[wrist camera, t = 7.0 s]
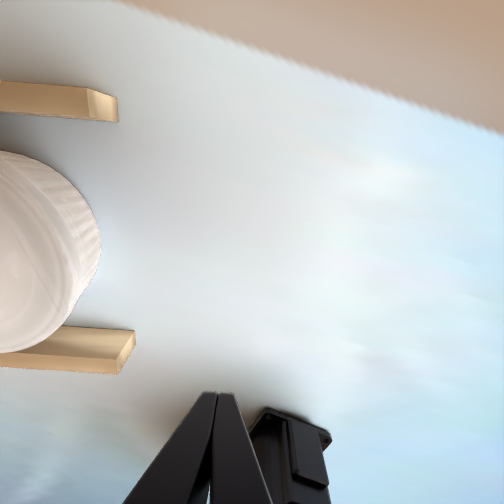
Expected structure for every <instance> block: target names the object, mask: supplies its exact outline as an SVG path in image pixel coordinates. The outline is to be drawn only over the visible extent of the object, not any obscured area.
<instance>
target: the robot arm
mask: <svg viewBox="0 0 504 504" xmlns="http://www.w3.org/2000/svg"><path fill="white" fill-rule="evenodd" d="M331 442H332V438H331V434H330V433H328V432H326V431H323V430H321V429H319V428H316V427H314V426H311V425H309V424H306V423H304V422H301V421H299V420H296V419H294V418H292V417H289V416H287V415H284V414H282V413H279V412H277V411H274V410H272V409H265V410H263V411H262V413H261V414H260V415H259V417H258V418H257V420H256V421H255V422H254V424H253V425H252V426H251V428H250V429H249V431H248V432H247V429H246V426H245V423H244V420H243V417H242V415H241V412H240V409H239V406H238V403H237V400H236V397H235V395H234V394H233V393H228V392H220V393H219V395H218V393H217V392H212V391H204V392H202V393H201V395H200V396H199V398H198V399H197V400H196V402H195V403H194V404H193V406H192V407H191V409H190V410H189V411H188V413H187V414H186V416H185V417H184V418H183V420H182V421H181V423H180V424H179V425H178V427H177V428H176V429H175V431H174V432H173V434H172V435H171V436H170V438H169V439H168V441H167V442H166V443H165V445H164V446H163V448H162V449H161V450H160V452H159V453H158V455H157V456H156V457H155V459H154V460H153V461H152V463H151V464H150V466H149V467H148V468H147V470H146V471H145V473H144V474H143V475H142V477H141V478H140V480H139V481H138V482H137V484H136V485H135V486H134V488H133V489H132V491H131V492H130V493H129V495H128V496H127V498H126V499H125V500H124V502H123V503H122V504H206V503H207V498H208V492H209V486H210V502H209V504H331V500H330V495H329V491H328V485H329V479H328V475H327V470H326V466H325V461H324V457H323V451H324V450H325V449H326V448H327V447H328V446H329V445H330V444H331Z"/></svg>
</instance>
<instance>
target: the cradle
mask: <svg viewBox="0 0 504 504" xmlns="http://www.w3.org/2000/svg"><path fill="white" fill-rule="evenodd" d="M0 113H12V114H24V115H37V116H49V117H61V118H73V119H85V120H98V121H110V122H118V111H117V98H114V97H111V96H108V95H106V94H103V93H100V92H97V91H94V90H91V89H89V88H83V87H72V86H60V85H48V84H36V83H24V82H12V81H0ZM135 345H136V343H135V331H128V330H113V329H99V328H84V327H69V326H60V327H59V328H58V329H57V330H55V331H54V332H53V333H52V334H51V335H50V336H48V337H47V338H46V339H44V340H43V341H41V342H39V343H37V344H35V345H33V346H31V347H28V348H25V349H22V350H18V351H14V352H7V353H0V367H12V368H27V369H42V370H57V371H73V372H88V373H103V374H118V373H119V371H120V370H121V368H122V366H123V365H124V363H125V361H126V360H127V358H128V356H129V355H130V353H131V351H132V350H133V348H134V346H135Z"/></svg>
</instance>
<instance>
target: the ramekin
mask: <svg viewBox="0 0 504 504" xmlns="http://www.w3.org/2000/svg"><path fill="white" fill-rule="evenodd" d="M100 256H101V243H100V234H99V228H98V226H97V223H96V220H95V217H94V215H93V214H92V211H91V209H90V207H89V206H88V204H87V203H86V201H85V199H84V198H83V197H82V196H81V195H80V193H79V192H78V190H77V189H76V188H75V187H74V186H73V185H72V184H71V183H70V182H69V181H68V180H67V179H66V178H64V177H63V176H62V175H61V174H60V173H58V172H56V171H54V170H53V169H52V168H50V167H49V166H47V165H45V164H42V163H41V162H39V161H37V160H35V159H31V158H29V157H26V156H24V155H20V154H15V153H11V152H6V151H1V150H0V353H7V352H14V351H18V350H22V349H25V348H28V347H31V346H33V345H35V344H37V343H39V342H41V341H43V340H44V339H46V338H47V337H48V336H50V335H51V334H52V333H53V332H54V331H55V330H57V329H58V328H59V327H60V326H61V325H62V324H63V323H64V322H65V321H66V319H67V318H68V316H69V315H70V313H71V312H72V310H73V308H74V306H75V304H76V302H77V299H78V298H79V296H80V295H81V294H82V292H83V291H84V290H85V288H86V287H87V285H88V284H89V283H90V281H91V280H92V277H93V276H94V274H95V272H96V269H97V266H98V264H99V259H100Z"/></svg>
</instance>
